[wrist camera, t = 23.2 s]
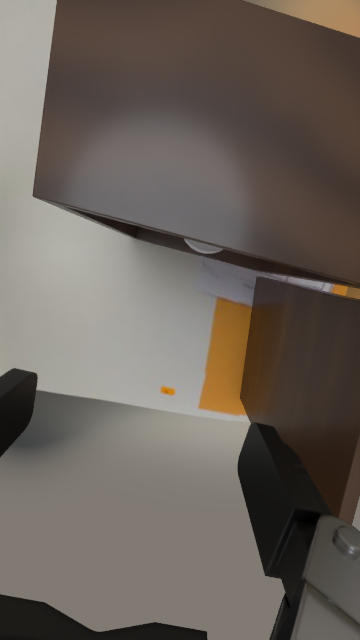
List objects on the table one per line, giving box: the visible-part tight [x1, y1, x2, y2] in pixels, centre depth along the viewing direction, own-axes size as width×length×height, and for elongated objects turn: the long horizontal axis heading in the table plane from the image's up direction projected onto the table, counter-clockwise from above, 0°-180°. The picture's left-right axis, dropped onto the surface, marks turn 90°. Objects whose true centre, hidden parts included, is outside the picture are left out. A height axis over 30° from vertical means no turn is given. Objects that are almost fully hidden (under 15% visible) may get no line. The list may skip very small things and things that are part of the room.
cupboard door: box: [240, 277, 360, 525], centre depth 30 cm, size 6×20×27 cm, turn 176°
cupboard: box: [33, 0, 360, 288], centre depth 26 cm, size 10×20×27 cm, turn 76°
